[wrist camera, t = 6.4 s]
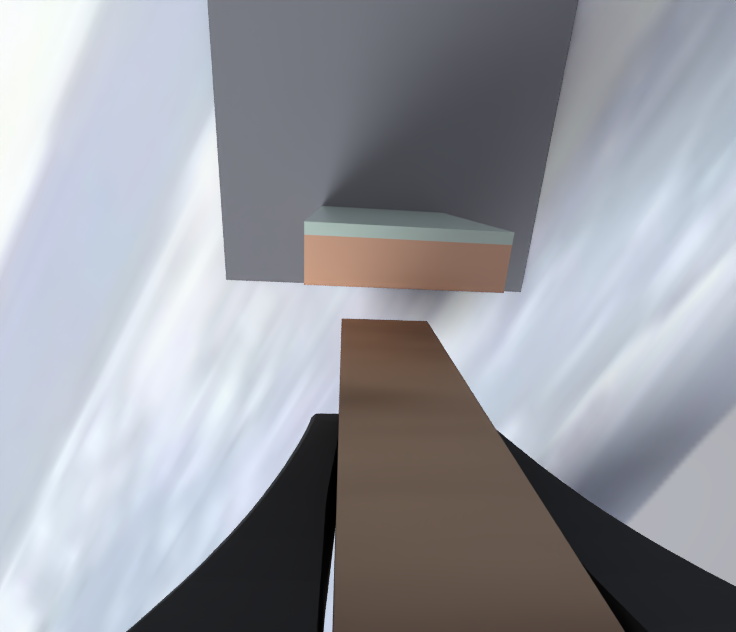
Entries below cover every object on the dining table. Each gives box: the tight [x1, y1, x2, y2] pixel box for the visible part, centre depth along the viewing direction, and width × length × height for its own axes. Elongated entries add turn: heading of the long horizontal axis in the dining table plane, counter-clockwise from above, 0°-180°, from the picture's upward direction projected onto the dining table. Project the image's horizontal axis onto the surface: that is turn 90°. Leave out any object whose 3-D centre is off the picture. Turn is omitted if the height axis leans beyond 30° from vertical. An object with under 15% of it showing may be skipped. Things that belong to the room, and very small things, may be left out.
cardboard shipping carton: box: [332, 319, 625, 632], centre depth 9 cm, size 5×3×10 cm, turn 177°
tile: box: [304, 206, 514, 293], centre depth 12 cm, size 2×5×7 cm, turn 86°
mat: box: [208, 0, 578, 292], centre depth 14 cm, size 14×13×1 cm
